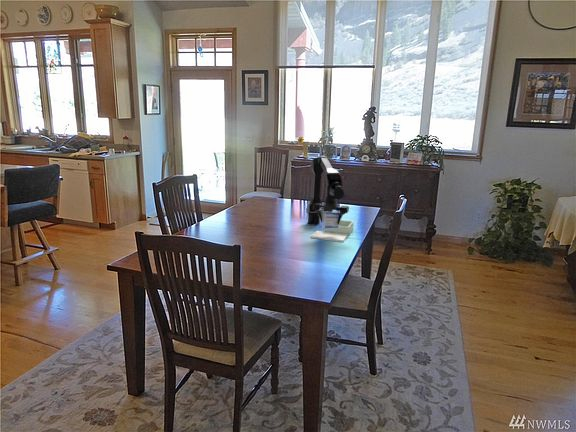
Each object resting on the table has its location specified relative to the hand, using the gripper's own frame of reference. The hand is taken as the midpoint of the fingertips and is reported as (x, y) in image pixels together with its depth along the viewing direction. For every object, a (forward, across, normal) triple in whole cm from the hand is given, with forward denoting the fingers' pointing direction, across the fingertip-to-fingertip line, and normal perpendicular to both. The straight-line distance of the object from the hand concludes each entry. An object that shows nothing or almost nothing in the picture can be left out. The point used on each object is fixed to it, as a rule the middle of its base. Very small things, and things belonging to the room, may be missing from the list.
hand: (330, 223), depth 222 cm
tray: (+8, 0, 0) cm, 8 cm away
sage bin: (+8, +2, +13) cm, 15 cm away
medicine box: (+2, 0, 0) cm, 2 cm away
